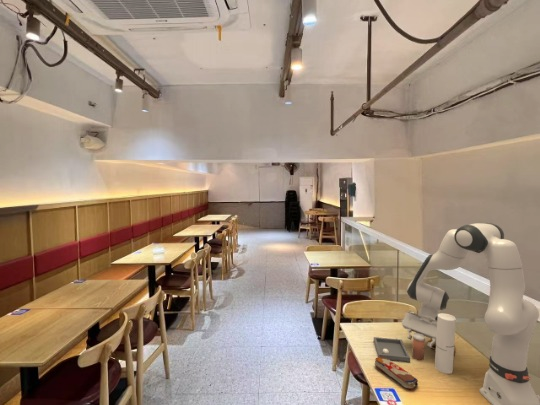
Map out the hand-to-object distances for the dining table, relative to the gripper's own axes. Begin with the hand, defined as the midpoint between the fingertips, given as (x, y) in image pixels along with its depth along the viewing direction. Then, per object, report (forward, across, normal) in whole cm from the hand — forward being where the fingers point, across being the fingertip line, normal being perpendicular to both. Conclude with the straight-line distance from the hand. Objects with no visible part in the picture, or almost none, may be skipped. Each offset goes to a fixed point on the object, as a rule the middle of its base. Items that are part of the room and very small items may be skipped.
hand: (418, 342), depth 146 cm
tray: (+9, -11, +1) cm, 15 cm away
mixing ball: (+12, -11, -5) cm, 17 cm away
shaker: (+6, 0, +4) cm, 7 cm away
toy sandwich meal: (-7, +6, +18) cm, 20 cm away
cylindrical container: (+6, +12, +5) cm, 14 cm away
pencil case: (+22, -1, -11) cm, 24 cm away
